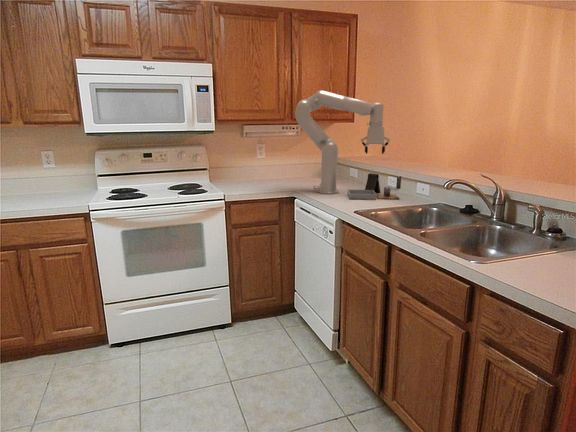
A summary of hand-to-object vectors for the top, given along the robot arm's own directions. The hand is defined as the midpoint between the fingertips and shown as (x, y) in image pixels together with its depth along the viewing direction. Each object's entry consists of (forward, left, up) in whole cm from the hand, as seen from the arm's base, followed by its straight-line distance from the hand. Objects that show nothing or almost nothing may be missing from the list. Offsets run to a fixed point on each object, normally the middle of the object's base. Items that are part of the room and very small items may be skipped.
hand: (374, 153), depth 236 cm
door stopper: (0, 0, -25) cm, 25 cm away
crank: (+9, -16, -23) cm, 29 cm away
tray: (-8, -15, -24) cm, 29 cm away
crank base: (+6, -15, -24) cm, 29 cm away
